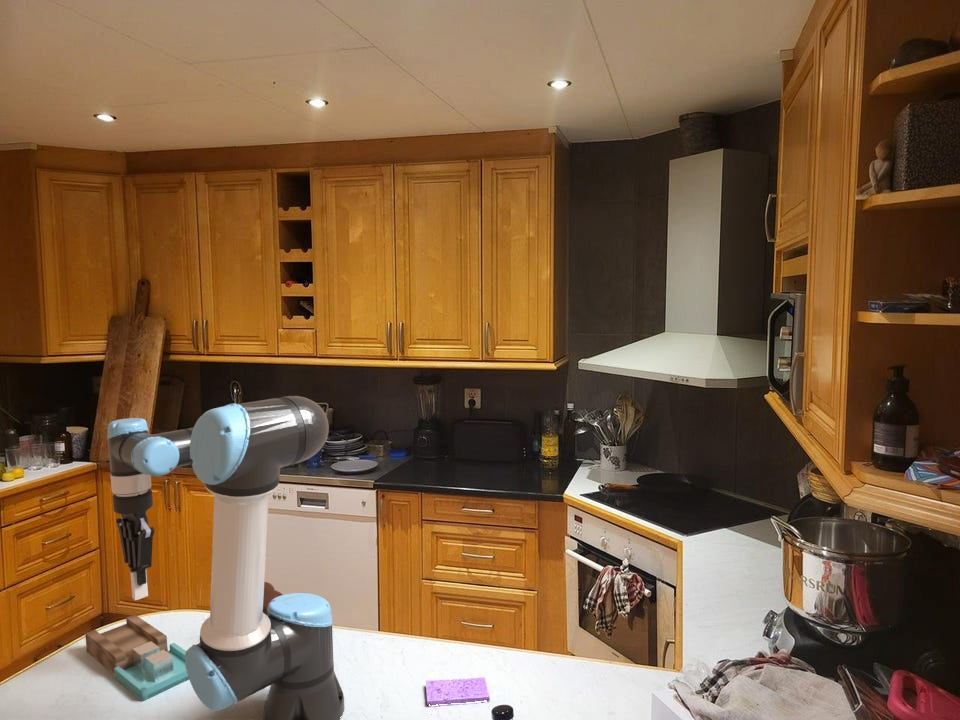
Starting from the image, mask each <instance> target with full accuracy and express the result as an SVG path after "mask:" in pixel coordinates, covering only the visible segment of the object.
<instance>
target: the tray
mask: <svg viewBox="0 0 960 720" xmlns="http://www.w3.org/2000/svg"><path fill="white" fill-rule="evenodd" d="M186 651H187V650H186V649H184V648H183V647H181V646H180V645H178V644H176V643H175V642H172V643H169V650H168V651H167V652H168V653H169V654H171V655H172V656H173V669H174V674H171V675H169V676H167V677H165V678H163V679H161V680H158V681H156V682H154V681H153V680H151V679H150V678H149V677H148V676H146V671H145V672H143V673H142V672H140V671H139V670H138V669H137V668H135V667H134V666H133V667H130V668H128V669H126V670H123V669H122V668H120V667H119V666H118V667H116V668H114V674H113V675H114V680H117V681H118V682H119V683H120V684H121V685H123V686H124V687H125V688H126V689H127V690H128V691H130V692H131V693H132V694H133V695H134V696H136V698H138V699H139V700H140V701H142V702H144V701H147V700H149V699H150V698H152V697H154V696H157V695H159V694H161V693H163V692H165V691H167V690H169V689H171V688H173V687H175V686H177V685H179V684H182V683H184V682H185V681H188V680H189V677H188V674H187V671H186V666H185V653H186Z"/></svg>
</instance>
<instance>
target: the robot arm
mask: <svg viewBox="0 0 960 720" xmlns="http://www.w3.org/2000/svg"><path fill="white" fill-rule="evenodd" d="M327 416H328V415H326V412H325V411H324V410H323V408H322V407H321V406H320V405H319V404H318V403H317V402H316V401H313V399H309V398H307V397H304V396H300V395H288V396H281V397H274V398H267V399H263V400H261V399H260V400H255V401H248V402H241V403H229V404H225V405H224V406H219V407H216V408H212V409H211V408H210V409H209V410H207V411H205V412H204V413H202V415H201V416H200V417H199V418H198V419H197V420H196V422H195V424H194V426H193V427H189V428H184V429H178V430H172V431H166V432H160V433H155V434H154V433H153V434H151V433H149V432H150V431H149V428H148V423H147V421H146V420H145V418H140V417H129V418H121V419H117V420H116V419H115V420H112V421H111V422H109V423H108V425H107V438H106V441H107V446H108V447H107V448H108V456H109V468H110V473H109V475H110V487H111V489H110V490H111V493H113V495H112V508H113V509H112V510H113V512H114V513H116V514H118V515H120V516H121V517H119V518H116V519H115V522H116V526H117V529H118V532H119V538H120V544H121V549H122V555H123V561H124V564H127V567H128V568H129V570H130V582H131V583H130V584H131V585H130V586H131V597H132V599H133V601H137V600H141V599H143V598H146V597H149V589H148V587H149V586H148V577H147V576H148V575H147V569H149V568H151V567H152V562H153V561H152V559H153V558H152V557H153V538H154V534H155V527H153V526H151V527H149V519H148V516H147V511H148V510H150V509H151V508H152V507H153V506H154V499H153V490H152V489H151V488H152V477H153V476H154V477H163V476H165V475H168V474H170V473H171V472H172V471H173V470H174V469H175V468H179V467H183V466H185V467H186V466H189V465H191V467H192V469H193V472H194V474H195V476H196V478H197V479H198V480H199V481H200V482H202V483H203V484H204V488H205V489H206V491H208V492H209V493H211V494H212V496H213V518H212V520H213V521H212V522H213V523H212V547H211V548H212V549H211V550H212V551H211V553H212V554H211V577H210V578H211V579H210V580H211V582H210V605H209V606H210V608H209V609H210V611H209V612H210V613H209V616H208V618H206V619H205V620H204V622H202V624H201V627H200V629H199V630H200V631H199V643H196V644H192V646H191V647H188V649H187V650H185V651H186V653H185V666H186V671H187V674H188V677H189V679H188V680H189V683H190V685H191V687H192V689H193V691H194V693H195V695H196V696H197V698H198V699H199V701H200V702H201V703H202V704H203V705H204V706H205V707H206V708H207V709H209V710H210V711H214V712H215V711H222V710H224V709H226V708H229V707H231V706H233V705H236V704H238V703H239V702H241V701H243V700H245V699H246V698H249V697H251V696H252V695H254V694H256V693H258V692H260V691H262V690H264V689H265V688H267V687H269V691H268V693H267V699H266V701H265V704H264V707H263V720H339V719H340V720H341V718H342V717H341V716H343V715H344V713H345V695H344V692H343V690H342V686H341V685H340V682H339V680H338V679H339V678H338V677H337V674H336V671H335V669H334V668H335V666H334V639H333V637H334V636H333V624H334V621H333V620H334V619H333V613H332V608H331V604H330V603H329V601H328V600H327V599H325V598H324V597H322V596H321V595H317V594H313V593H306V592H292V593H285V594H282V595H281V596H278V597H276V598H274V599H273V600H271V602H270V603H269V605H268V608H267V612H268V614H267V615H266V614H264V613H263V597H264V582H265V578H266V577H265V575H266V557H267V555H266V554H267V539H268V538H267V537H268V522H269V521H268V520H269V519H268V518H269V505H270V504H269V502H270V501H269V500H270V494H271V493H273V492H274V491H275V490H276V489H277V488H278V487H279V485H280V475H281V473H280V472H281V468H285V467H288V466H291V465H295V464H299V463H301V462H304V461H306V460H308V459H310V458H313V456H315V455H316V454H318V452H319V451H320V450H322V448H323V446H324V445H326V441H327V439H328V436H329V431H330V430H329V427H330V426H329V425H330V424H329V420H328V417H327ZM343 712H344V713H343ZM340 717H341V718H340Z"/></svg>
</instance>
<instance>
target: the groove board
mask: <svg viewBox="0 0 960 720" xmlns="http://www.w3.org/2000/svg"><path fill="white" fill-rule="evenodd" d="M125 620H126V621H125V622H126V623H124V624H121V625H120V626H116V627H114V628H112V629H108V630H107V631H104V632H102V633H101V632H99V631H97V630H96V629H93V630H90V631H87V632H85V635H84V636H85V647H86V652H87V653H88V654H89V655H90V656H91V657H93V658H94V659H95V660H96V661H97V662H99V663H100V664H101V665H102V666H104V667H105V668H106V669H107V670H108V671H109V672H110V673H112V674H113V675H114V668H116V667H118V666H119V667H120V668H122V669H123V670H126V669H128V668H130V667H133V666H134V663H133V650H132V649H133V648H136V647H138V646H141V645H143V644H146V643H148V642H150V641H151V642H153V643H154V644H156V645H157V646H158V647H160V651H162V650H165V651H166V652H167V651H169V650H168V637H167V635H166V634H164V633H163V632H162V631H160V630H159V629H157V628H156V627H154V626H153V625H151V624H150V623H149V622H147V621H145V620H144V619H142V618H141V617H139V616H138V615H136V614H131V615H130V616H126V618H125Z"/></svg>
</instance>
